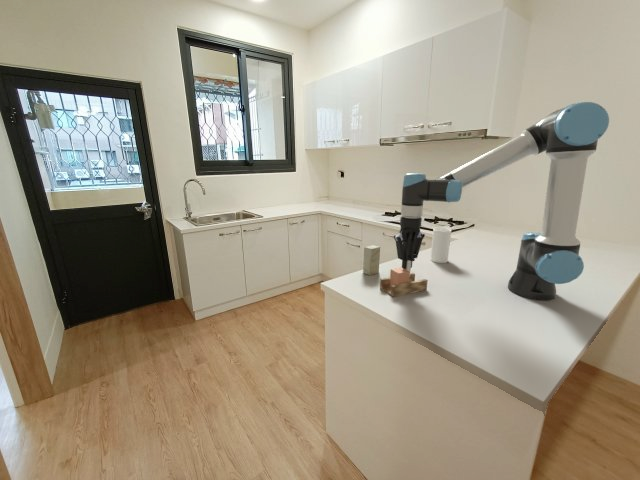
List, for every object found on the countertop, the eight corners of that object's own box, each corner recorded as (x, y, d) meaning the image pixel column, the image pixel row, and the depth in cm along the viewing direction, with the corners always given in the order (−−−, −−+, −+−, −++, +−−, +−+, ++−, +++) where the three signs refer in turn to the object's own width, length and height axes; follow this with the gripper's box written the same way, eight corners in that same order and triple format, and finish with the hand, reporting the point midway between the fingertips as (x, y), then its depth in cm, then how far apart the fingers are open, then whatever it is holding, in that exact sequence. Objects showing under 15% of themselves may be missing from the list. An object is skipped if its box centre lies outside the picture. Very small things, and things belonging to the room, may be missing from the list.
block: (399, 284, 118) (401, 267, 116) (408, 289, 113) (409, 271, 111) (389, 287, 116) (390, 269, 114) (397, 292, 112) (398, 273, 110)
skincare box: (369, 275, 129) (371, 249, 126) (362, 272, 132) (363, 246, 129) (379, 272, 133) (380, 246, 130) (371, 269, 136) (373, 244, 133)
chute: (412, 282, 122) (413, 272, 121) (426, 289, 115) (427, 280, 114) (380, 288, 116) (380, 278, 115) (392, 297, 109) (393, 286, 108)
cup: (449, 263, 145) (453, 231, 140) (431, 262, 146) (434, 231, 142) (445, 258, 152) (449, 228, 148) (429, 257, 154) (432, 227, 150)
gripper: (418, 213, 114) (413, 270, 121) (390, 215, 110) (386, 275, 116) (432, 216, 108) (426, 276, 114) (403, 219, 103) (398, 282, 109)
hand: (406, 275), depth 115 cm, fingers closed
